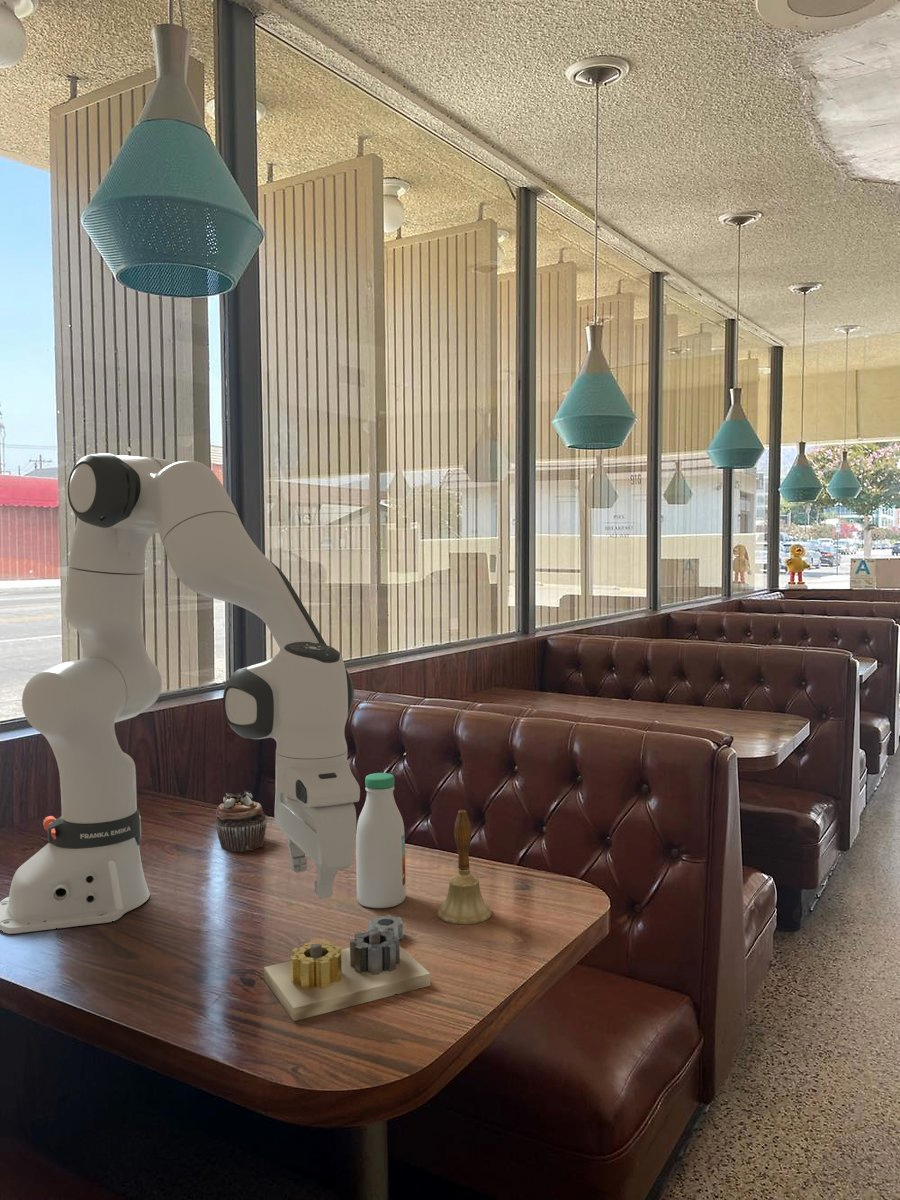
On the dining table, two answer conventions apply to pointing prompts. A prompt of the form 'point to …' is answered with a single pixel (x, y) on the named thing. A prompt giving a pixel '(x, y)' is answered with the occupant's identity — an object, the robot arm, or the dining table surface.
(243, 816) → the cupcake
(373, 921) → the zinc gear
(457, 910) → the hand bell
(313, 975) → the brass gear
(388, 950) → the steel gear
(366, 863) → the milk bottle
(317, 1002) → the gear board
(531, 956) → the dining table surface
